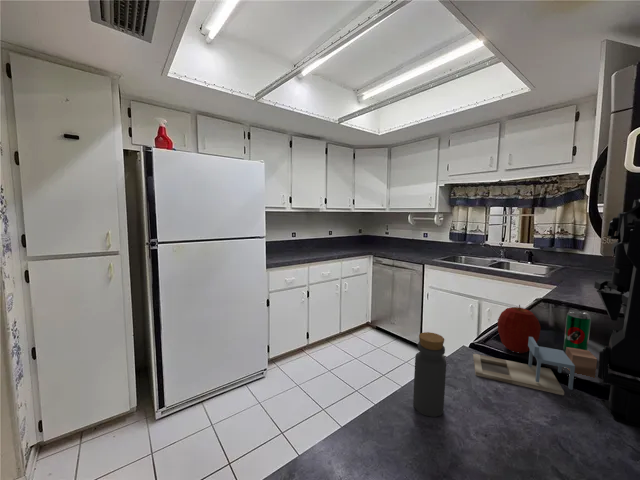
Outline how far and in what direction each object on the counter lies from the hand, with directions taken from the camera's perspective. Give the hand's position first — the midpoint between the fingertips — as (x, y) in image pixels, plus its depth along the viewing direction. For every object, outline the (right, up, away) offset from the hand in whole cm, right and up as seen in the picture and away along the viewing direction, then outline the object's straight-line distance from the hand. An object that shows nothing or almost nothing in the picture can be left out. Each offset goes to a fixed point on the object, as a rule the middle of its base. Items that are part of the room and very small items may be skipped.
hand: (623, 326), depth 70 cm
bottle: (-53, -13, -12) cm, 56 cm away
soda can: (-2, -11, +11) cm, 16 cm away
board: (-27, -12, 0) cm, 30 cm away
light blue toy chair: (-21, -11, -3) cm, 24 cm away
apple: (-18, -11, +12) cm, 24 cm away
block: (-10, -12, +1) cm, 16 cm away
